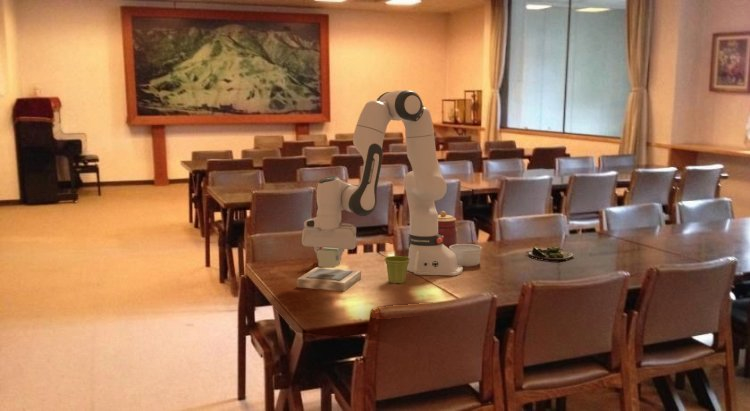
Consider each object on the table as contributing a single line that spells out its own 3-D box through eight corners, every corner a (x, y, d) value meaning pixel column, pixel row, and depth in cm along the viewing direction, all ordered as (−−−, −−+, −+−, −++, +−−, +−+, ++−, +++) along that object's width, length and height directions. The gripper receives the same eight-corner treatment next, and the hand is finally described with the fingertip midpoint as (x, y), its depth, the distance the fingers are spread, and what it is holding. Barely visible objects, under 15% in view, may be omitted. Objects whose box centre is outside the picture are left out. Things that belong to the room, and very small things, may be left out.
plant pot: (394, 277, 256) (394, 254, 254) (414, 281, 250) (415, 258, 248) (379, 282, 248) (379, 259, 247) (399, 286, 243) (399, 262, 241)
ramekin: (444, 265, 275) (444, 248, 274) (456, 258, 286) (456, 242, 285) (475, 268, 269) (475, 251, 268) (485, 261, 280) (486, 245, 279)
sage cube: (339, 264, 248) (339, 248, 247) (333, 267, 243) (333, 251, 242) (324, 262, 250) (324, 246, 249) (318, 266, 244) (318, 250, 244)
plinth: (361, 278, 253) (360, 270, 253) (344, 291, 236) (344, 282, 236) (316, 274, 259) (316, 266, 258) (297, 287, 242) (297, 278, 241)
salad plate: (545, 250, 303) (546, 240, 303) (581, 256, 291) (582, 246, 290) (520, 257, 290) (521, 246, 290) (557, 264, 278) (557, 253, 277)
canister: (422, 248, 305) (423, 210, 303) (447, 246, 311) (448, 208, 308) (437, 254, 294) (438, 214, 291) (462, 251, 299) (463, 212, 297)
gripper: (359, 222, 244) (359, 259, 246) (306, 219, 250) (307, 255, 252) (353, 225, 238) (353, 263, 240) (299, 221, 244) (300, 259, 246)
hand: (329, 259), depth 246 cm, fingers closed on sage cube, 6 cm apart
